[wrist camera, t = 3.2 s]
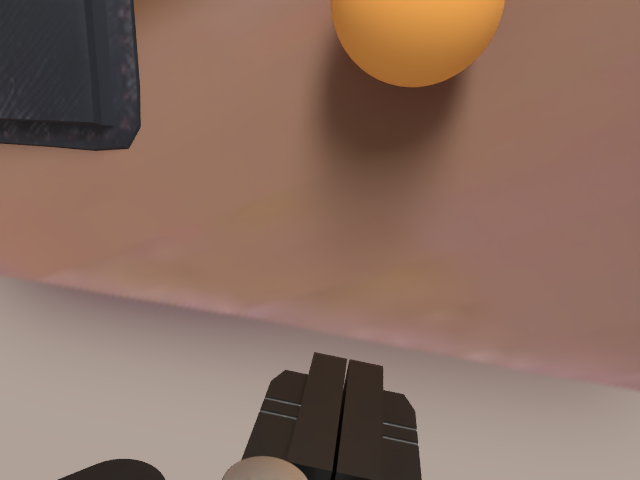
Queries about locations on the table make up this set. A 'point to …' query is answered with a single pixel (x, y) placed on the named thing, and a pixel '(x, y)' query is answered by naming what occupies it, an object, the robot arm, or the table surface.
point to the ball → (415, 36)
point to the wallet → (69, 74)
